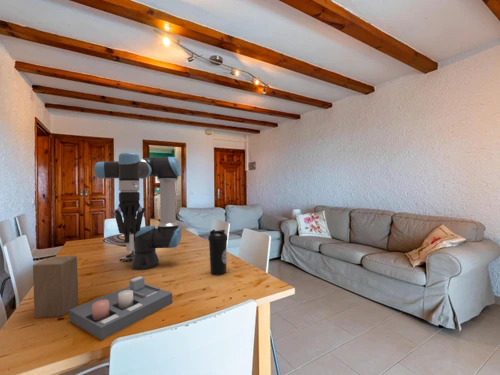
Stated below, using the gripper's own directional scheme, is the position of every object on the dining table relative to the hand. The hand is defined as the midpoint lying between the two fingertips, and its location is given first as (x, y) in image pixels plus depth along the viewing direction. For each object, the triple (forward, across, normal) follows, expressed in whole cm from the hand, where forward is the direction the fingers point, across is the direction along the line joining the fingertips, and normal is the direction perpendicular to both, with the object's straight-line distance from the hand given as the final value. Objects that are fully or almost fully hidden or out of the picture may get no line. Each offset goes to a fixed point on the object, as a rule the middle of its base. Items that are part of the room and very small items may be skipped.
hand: (130, 250), depth 99 cm
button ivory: (+19, -4, -4) cm, 20 cm away
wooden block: (+23, -16, +22) cm, 35 cm away
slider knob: (+18, +5, +4) cm, 19 cm away
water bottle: (+21, +47, -7) cm, 52 cm away
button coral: (+20, -13, -4) cm, 24 cm away
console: (+23, -3, -1) cm, 23 cm away
